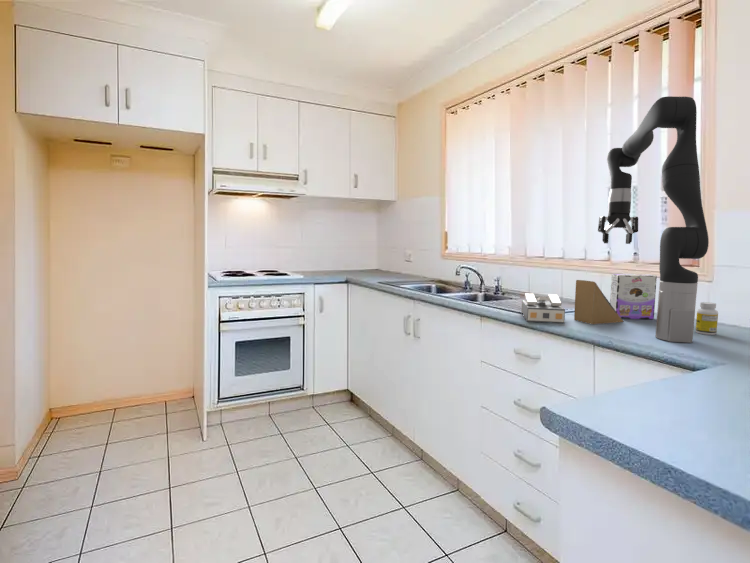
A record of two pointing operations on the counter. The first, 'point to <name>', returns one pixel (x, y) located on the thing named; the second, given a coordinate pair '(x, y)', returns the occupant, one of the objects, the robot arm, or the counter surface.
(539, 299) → the rocker middle
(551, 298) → the rocker right
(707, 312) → the supplement bottle
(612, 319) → the sandwich container
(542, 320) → the switch unit
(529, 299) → the block
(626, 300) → the candy box
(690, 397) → the counter surface
